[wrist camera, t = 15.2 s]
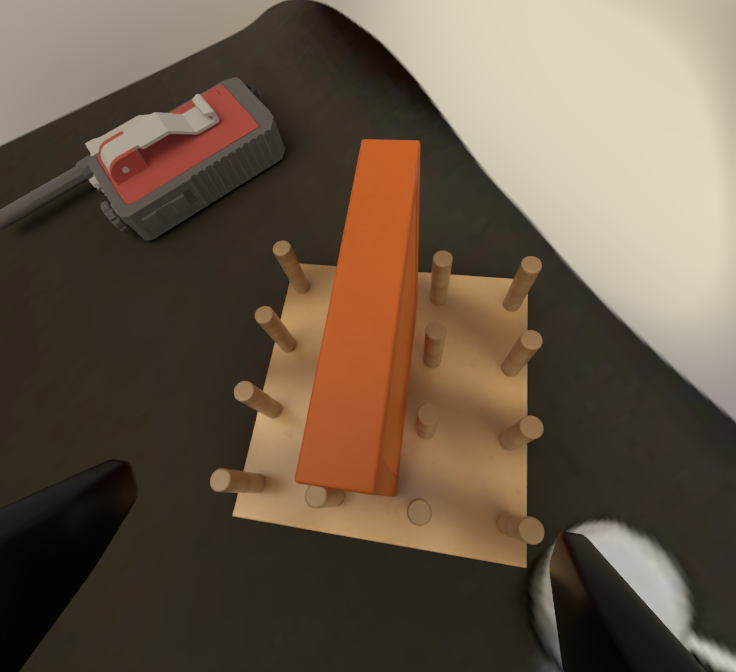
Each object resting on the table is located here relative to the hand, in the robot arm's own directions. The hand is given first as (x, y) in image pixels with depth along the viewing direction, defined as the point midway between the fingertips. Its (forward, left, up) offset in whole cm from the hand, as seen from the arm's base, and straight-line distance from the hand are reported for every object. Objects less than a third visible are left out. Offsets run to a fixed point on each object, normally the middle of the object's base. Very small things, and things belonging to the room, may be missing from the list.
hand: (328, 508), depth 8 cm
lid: (+5, -1, -11) cm, 12 cm away
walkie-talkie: (+22, +13, -12) cm, 28 cm away
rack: (+5, -1, -12) cm, 13 cm away
